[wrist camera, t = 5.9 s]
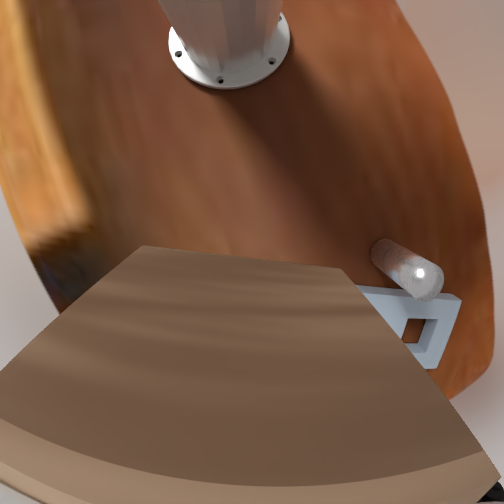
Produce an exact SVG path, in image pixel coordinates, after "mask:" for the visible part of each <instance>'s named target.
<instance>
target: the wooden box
mask: <svg viewBox="0 0 504 504" xmlns="http://www.w3.org/2000/svg"><path fill="white" fill-rule="evenodd" d="M500 478H501V476H500V474H499V472H498V471H497V469H496V468H495V466H494V464H493V463H492V461H491V460H490V458H489V457H488V455H487V454H486V453H485V451H484V450H483V448H482V447H481V445H480V444H479V442H478V441H477V439H476V438H475V437H474V435H473V434H472V432H471V431H470V430H469V428H468V427H467V425H466V424H465V422H464V421H463V420H462V418H461V417H460V415H459V414H458V413H457V411H456V410H455V409H454V407H453V406H452V405H451V403H450V402H449V400H448V399H447V398H446V396H445V395H444V394H443V392H442V391H441V390H440V389H439V387H438V386H437V385H436V383H435V382H434V381H433V379H432V378H431V377H430V375H429V374H428V373H427V372H426V370H425V369H424V368H423V366H422V365H421V364H420V363H419V361H418V360H417V359H416V358H415V356H414V355H413V354H412V353H411V351H410V350H409V349H408V348H407V346H406V345H405V344H404V343H403V341H402V340H401V339H400V338H399V336H398V335H397V334H396V333H395V332H394V330H393V329H392V328H391V327H390V325H389V324H388V323H387V322H386V321H385V319H384V318H383V317H382V316H381V315H380V313H379V312H378V311H377V310H376V309H375V307H374V306H373V305H372V304H371V303H370V302H369V300H368V299H367V298H366V297H365V296H364V295H363V293H362V292H361V291H360V290H359V289H358V288H357V286H356V285H355V284H354V283H353V282H352V281H351V280H350V278H349V277H348V276H347V275H346V274H345V273H344V272H343V270H342V269H341V268H333V267H324V266H315V265H306V264H298V263H289V262H280V261H271V260H263V259H254V258H245V257H237V256H228V255H220V254H211V253H203V252H194V251H186V250H177V249H169V248H161V247H152V246H144V245H143V246H141V247H140V248H139V249H138V250H136V251H135V252H134V253H133V254H131V255H130V256H129V257H128V258H126V259H125V260H124V261H123V262H121V263H120V264H119V265H118V266H116V267H115V268H114V269H113V270H112V271H110V272H109V273H108V274H107V275H105V276H104V277H103V278H102V279H101V280H99V281H98V282H97V283H96V284H95V285H94V286H92V287H91V288H90V289H89V290H88V291H87V292H85V293H84V294H83V295H82V296H81V297H80V298H78V299H77V300H76V301H75V302H74V303H73V304H72V305H70V306H69V307H68V308H67V309H66V310H65V311H64V312H62V313H61V314H60V315H59V316H58V317H57V318H56V319H55V320H54V321H52V323H50V324H49V325H48V326H47V327H46V328H45V329H44V330H43V331H42V332H41V333H39V334H38V335H37V336H36V337H35V338H34V339H33V340H32V341H31V342H30V343H29V344H28V345H27V346H26V347H25V348H24V349H23V350H22V351H20V353H18V354H17V355H16V357H14V358H13V359H12V360H11V361H10V362H9V363H8V364H7V365H6V367H4V368H3V369H2V370H1V371H0V480H2V481H3V482H5V483H7V484H9V485H11V486H12V487H14V488H16V489H18V490H20V491H22V492H23V493H25V494H27V495H29V496H31V497H33V498H35V499H37V500H39V501H41V502H43V503H46V504H475V503H477V502H478V501H479V500H480V499H481V498H482V497H483V496H484V495H485V494H486V493H487V492H488V491H489V490H490V489H491V488H492V486H493V485H494V484H495V483H496V482H497V481H498V480H499V479H500Z"/></svg>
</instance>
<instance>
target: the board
mask: <svg viewBox="0 0 504 504" xmlns="http://www.w3.org/2000/svg"><path fill="white" fill-rule="evenodd" d="M356 286H357V288H358V289H359V290H360V291H361V292H362V293H363V295H364V296H365V297H366V298H367V299H368V300H369V302H370V303H371V304H372V305H373V306H374V307H375V309H376V310H377V311H378V312H379V313H380V315H381V316H382V317H383V318H384V319H385V321H386V322H387V323H388V324H389V325H390V327H391V328H392V329H393V330H394V332H395V333H396V334H397V335H398V336H399V338H400V339H401V338H402V335H403V332H404V329H405V326H406V323H407V320H408V318H417V319H426V322H425V325H424V327H423V330H422V333H421V336H420V339H419V341H418V343H404V344H405V345H406V346H407V348H408V349H409V350H410V351H411V353H412V354H413V355H414V356H415V358H416V359H417V360H418V361H419V363H420V364H421V365H422V366H423V368H424V369H432V368H437V366H438V363H439V361H440V359H441V356H442V354H443V351H444V349H445V347H446V344H447V341H448V339H449V336H450V334H451V331H452V328H453V326H454V323H455V320H456V317H457V314H458V311H459V308H460V305H461V302H462V300H460V299H459V298H457V297H456V296H454V295H453V294H449V293H439V294H438V295H437V296H436V297H435V298H434V299H432V300H431V301H428V302H420V301H418V300H417V299H416V298H414V297H413V296H412V295H411V294H409V293H408V292H407V291H406V290H403V289H392V288H382V287H371V286H361V285H356Z"/></svg>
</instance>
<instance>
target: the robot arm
mask: <svg viewBox="0 0 504 504" xmlns="http://www.w3.org/2000/svg"><path fill="white" fill-rule="evenodd" d="M157 1H158V3H159V5H160V6H161V8H162V10H163V12H164V13H165V15H166V17H167V19H168V21H169V22H170V24H171V26H172V27H171V30H170V32H169V40H168V44H169V52H170V54H171V57H172V60H173V61H174V63H175V65H176V66H177V67H178V69H179V70H180V71H181V72H182V73H183V74H184V75H185V76H186V77H188V78H189V79H190V80H192V81H194V82H196V83H198V84H200V85H203V86H206V87H209V88H215V89H223V90H224V89H238V88H243V87H247V86H250V85H253V84H256V83H258V82H260V81H261V80H263V79H265V78H267V77H268V76H269V75H271V74H272V73H273V72H274V71H275V70H276V69H277V68H278V67H279V65H280V64H281V63H282V62H283V60H284V58H285V56H286V54H287V51H288V47H289V42H290V31H289V26H288V23H287V21H286V18H285V17H284V15H283V14H282V12H281V8H282V4H283V0H157ZM179 55H182V56H181V57H179V58H178V56H179ZM270 62H273V63H274V64H273V65H270V64H269V63H270ZM220 80H223V81H224V82H223V83H222V84H220V83H219V81H220ZM0 504H46V503H43V502H41V501H39V500H37V499H35V498H33V497H31V496H29V495H27V494H25V493H23V492H22V491H20V490H18V489H16V488H14V487H12V486H11V485H9V484H7V483H5V482H3V481H2V480H0ZM475 504H504V489H503V487H502V486H501V484H500V483H499V482H498V481H497V482H496V483H495V484H494V485H493V486H492V488H491V489H490V490H489V491H488V492H487V493H486V494H485V495H484V496H483V497H482V498H481V499H480V500H479V501H478V502H477V503H475Z"/></svg>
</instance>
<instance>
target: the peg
mask: <svg viewBox="0 0 504 504" xmlns="http://www.w3.org/2000/svg"><path fill="white" fill-rule="evenodd" d="M370 258H371V261H372V263H373V264H374V265H375V266H376V267H377V268H379V269H380V270H381V271H382V272H384V273H385V274H386V275H387V276H389V277H390V278H391V279H392V280H394V281H395V282H396V283H397V284H399V285H400V286H401V287H402V288H403V289H405V290H406V291H407V292H408V293H409V294H411V295H412V296H413V297H414V298H416V299H417V300H418V301H420V302H428V301H431V300H432V299H434V298H435V297H436V296H437V295H438V294H439V293H440V291H441V289H442V287H443V283H444V275H443V271H442V270H441V268H440V267H439V266H437V265H435V264H434V263H432V262H430V261H428V260H427V259H425V258H423V257H421V256H419V255H418V254H416V253H414V252H412V251H410V250H408V249H406V248H405V247H403V246H401V245H399V244H397V243H395V242H393V241H391V240H389V239H381V240H378V241H377V242H376V243H375V244H374V245H373V247H372V249H371V252H370Z"/></svg>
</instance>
